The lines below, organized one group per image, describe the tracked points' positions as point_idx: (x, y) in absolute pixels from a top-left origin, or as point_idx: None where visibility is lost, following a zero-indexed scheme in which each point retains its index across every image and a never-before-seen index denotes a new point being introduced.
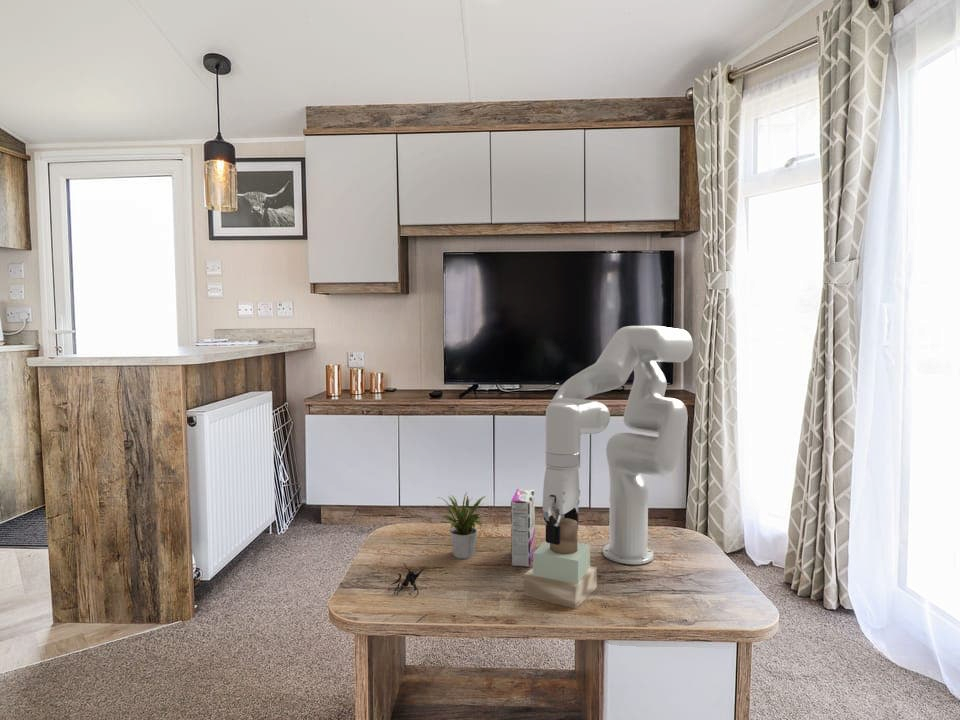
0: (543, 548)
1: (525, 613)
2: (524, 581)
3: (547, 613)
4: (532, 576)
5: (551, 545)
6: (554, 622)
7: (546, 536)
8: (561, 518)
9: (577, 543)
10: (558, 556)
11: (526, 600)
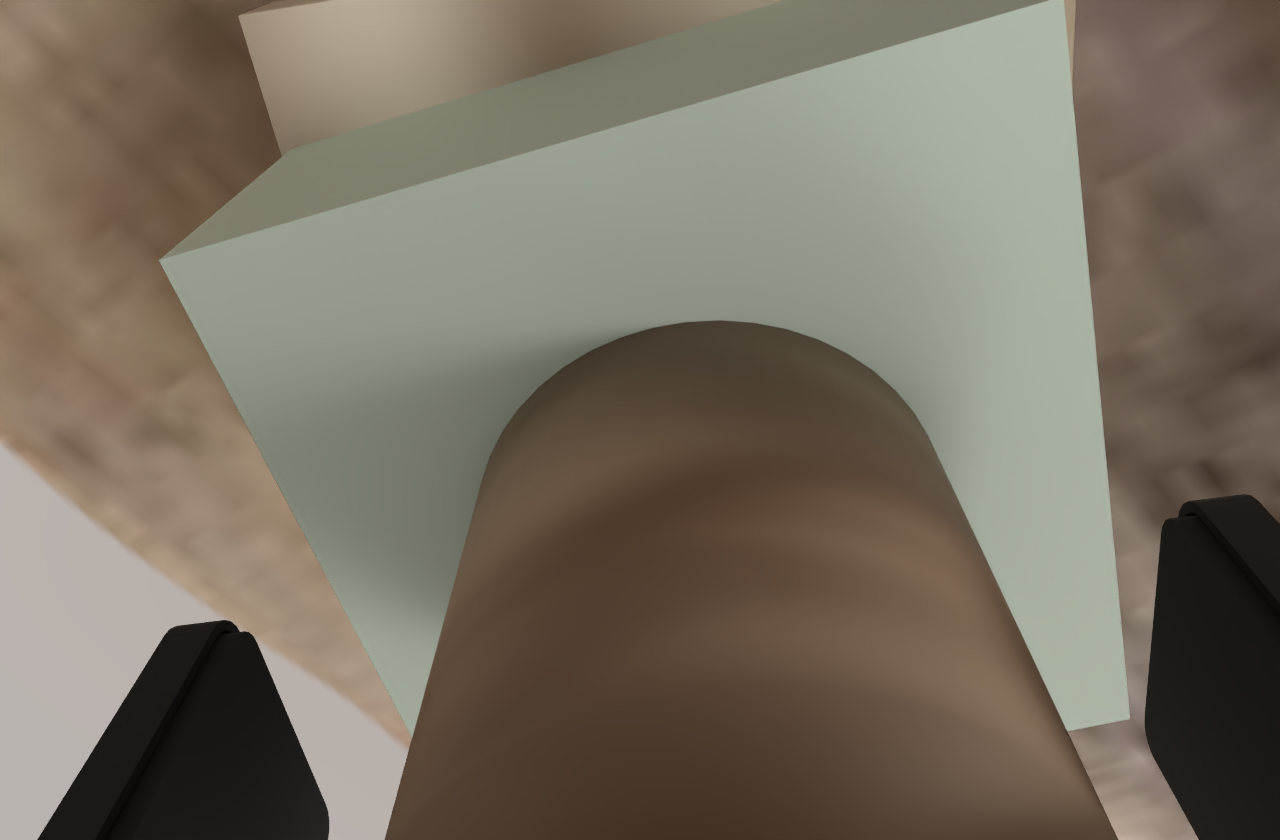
0: (485, 275)
1: (41, 252)
2: (273, 1)
3: (214, 397)
4: (282, 146)
5: (487, 488)
6: (151, 513)
7: (135, 716)
8: (1019, 815)
9: (1083, 571)
10: (392, 623)
11: (238, 92)
